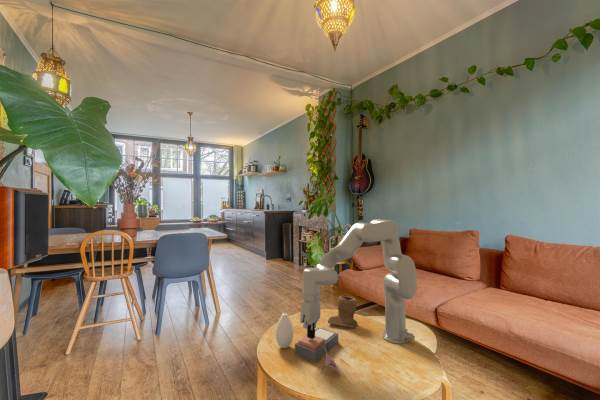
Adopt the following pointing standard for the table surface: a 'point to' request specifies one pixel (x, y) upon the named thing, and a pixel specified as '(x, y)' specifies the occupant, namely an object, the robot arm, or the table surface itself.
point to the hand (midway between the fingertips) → (311, 337)
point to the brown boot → (345, 312)
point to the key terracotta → (311, 342)
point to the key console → (319, 352)
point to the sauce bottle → (284, 331)
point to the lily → (330, 362)
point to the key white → (324, 334)
